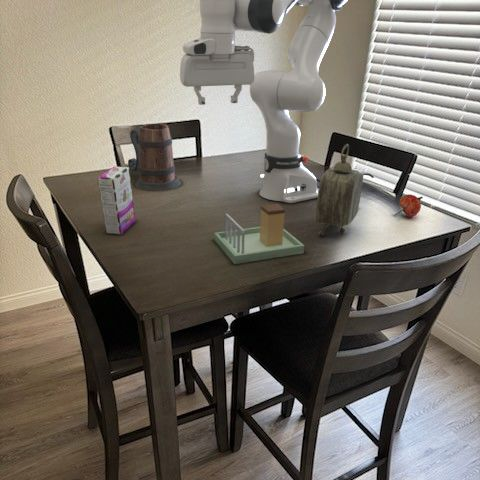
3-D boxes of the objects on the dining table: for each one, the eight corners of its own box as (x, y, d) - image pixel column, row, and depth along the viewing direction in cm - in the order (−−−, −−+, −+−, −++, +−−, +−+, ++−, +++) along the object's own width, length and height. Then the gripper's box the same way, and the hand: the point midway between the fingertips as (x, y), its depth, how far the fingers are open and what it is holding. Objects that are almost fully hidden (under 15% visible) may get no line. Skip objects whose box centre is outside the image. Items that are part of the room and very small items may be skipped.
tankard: (190, 182, 179) (188, 126, 168) (157, 193, 168) (152, 133, 157) (147, 170, 191) (143, 117, 180) (114, 180, 180) (107, 123, 169)
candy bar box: (120, 219, 147) (113, 165, 138) (135, 221, 146) (130, 166, 137) (104, 233, 137) (96, 176, 129) (120, 235, 137) (113, 178, 128)
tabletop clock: (327, 221, 149) (338, 137, 136) (356, 226, 146) (370, 141, 132) (313, 237, 138) (323, 148, 125) (343, 243, 135) (357, 152, 121)
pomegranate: (400, 227, 152) (430, 210, 149) (389, 207, 150) (419, 190, 147) (397, 221, 159) (426, 204, 155) (387, 202, 157) (415, 185, 153)
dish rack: (277, 231, 142) (279, 204, 137) (303, 253, 129) (306, 224, 125) (214, 240, 135) (213, 212, 131) (234, 264, 123) (235, 234, 118)
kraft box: (275, 237, 136) (277, 203, 130) (282, 244, 132) (285, 209, 126) (259, 240, 134) (260, 205, 129) (266, 246, 130) (268, 211, 125)
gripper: (249, 44, 130) (248, 100, 138) (176, 45, 123) (179, 103, 131) (259, 46, 125) (257, 103, 133) (183, 46, 119) (186, 107, 126)
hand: (218, 103), depth 132 cm, fingers open, 8 cm apart
